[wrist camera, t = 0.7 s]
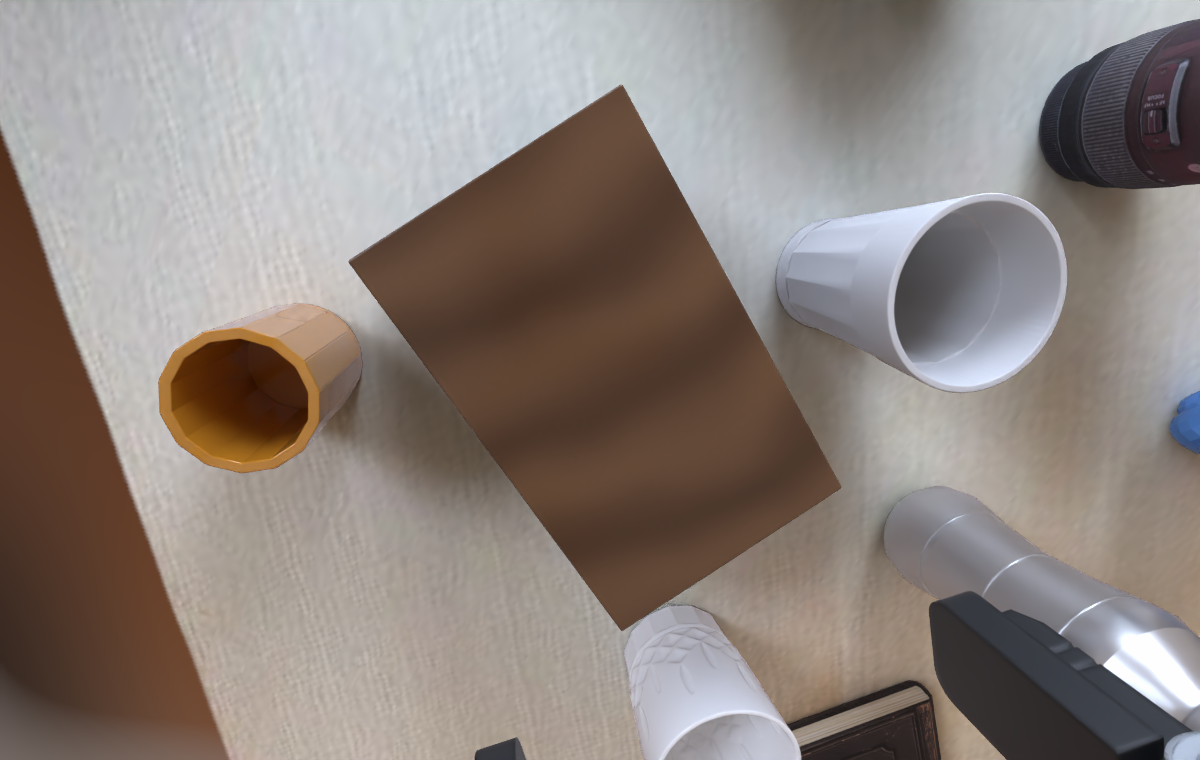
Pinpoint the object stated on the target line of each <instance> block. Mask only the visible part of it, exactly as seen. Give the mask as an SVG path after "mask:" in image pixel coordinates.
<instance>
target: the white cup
mask: <svg viewBox="0 0 1200 760" xmlns="http://www.w3.org/2000/svg"><path fill="white" fill-rule="evenodd" d="M624 657H625V663H626V670H627V675H628V680H629V684H630V697H631V702H632V707H633V714H634V719H635V724H636V728H637V733H638V737H639V742H640V746H641V751H642V755H643V760H801V752H800V748H799V744H798V742H797V740H796V738H795V736H794V734H793V733H792V731H791V730H790V728H789V727H788V725H787V724H786V722H785V721H784V719H783V718H782V716H781V715H780V713H779V712H778V710H777V709H776V707H775V706H774V704H773V702H772V701H771V699H770V698H769V696H768V695H767V693H766V692H765V690H764V689H763V687H762V686H761V684H760V682H759V681H758V679H757V678H756V676H755V675H754V673H753V672H752V670H751V669H750V667H749V666H748V664H747V663H746V661H745V660H744V659H743V657H742V656H741V655H740V653H739V652H738V650H737V649H736V647H735V646H734V645H733V644H732V643H731V642H730V641H729V640H728V638H727V637H726V635H725V634H724V632H723V631H722V629H721V628H720V627H719V625H718V624H717V622H716V621H715V620H714V618H713V617H712V616H711V614H709V613H707V612H704V611H702V610H700V609H698V608H696V607H693V606H668V607H665V608H663V609H661V610H658V611H656V612H654V613H652V614H649V615H647V616H646V617H645V618H644V619H643V620H642V621H641V622H640V624H639V625H638V626H637V627H636V628H635V629H634V630H633V631H632V632H631V634H630V637H629V640H628V643H627V645H626V648H625V651H624Z"/></svg>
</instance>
